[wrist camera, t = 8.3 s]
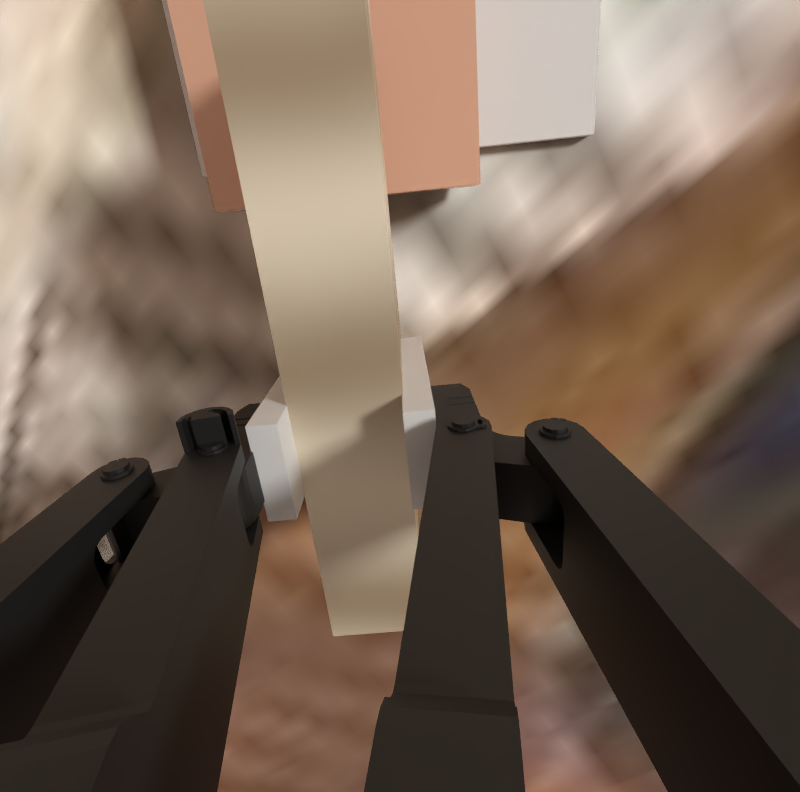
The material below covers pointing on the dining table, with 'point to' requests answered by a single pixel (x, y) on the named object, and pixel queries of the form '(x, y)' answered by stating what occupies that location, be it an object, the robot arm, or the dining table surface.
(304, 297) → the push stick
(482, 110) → the mat
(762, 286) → the dining table surface
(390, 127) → the tile
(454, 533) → the robot arm
